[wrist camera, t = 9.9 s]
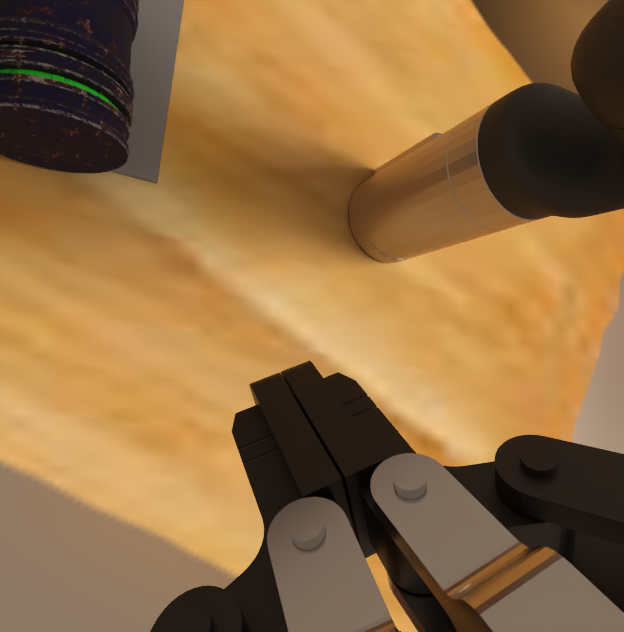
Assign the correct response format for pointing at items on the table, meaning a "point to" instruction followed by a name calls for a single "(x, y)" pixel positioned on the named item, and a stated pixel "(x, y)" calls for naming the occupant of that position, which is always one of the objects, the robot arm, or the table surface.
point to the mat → (151, 84)
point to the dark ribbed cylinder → (67, 82)
